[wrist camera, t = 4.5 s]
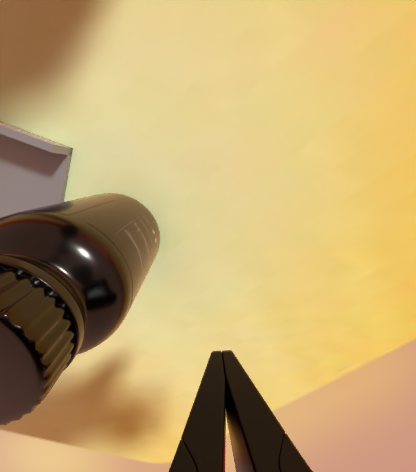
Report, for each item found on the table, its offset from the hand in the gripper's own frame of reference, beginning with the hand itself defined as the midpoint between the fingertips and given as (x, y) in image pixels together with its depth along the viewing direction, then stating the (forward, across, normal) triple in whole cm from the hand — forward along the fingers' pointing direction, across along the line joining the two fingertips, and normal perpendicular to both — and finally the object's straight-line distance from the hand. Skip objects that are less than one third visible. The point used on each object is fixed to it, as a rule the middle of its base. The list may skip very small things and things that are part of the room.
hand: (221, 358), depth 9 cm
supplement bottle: (+10, +7, -3) cm, 12 cm away
